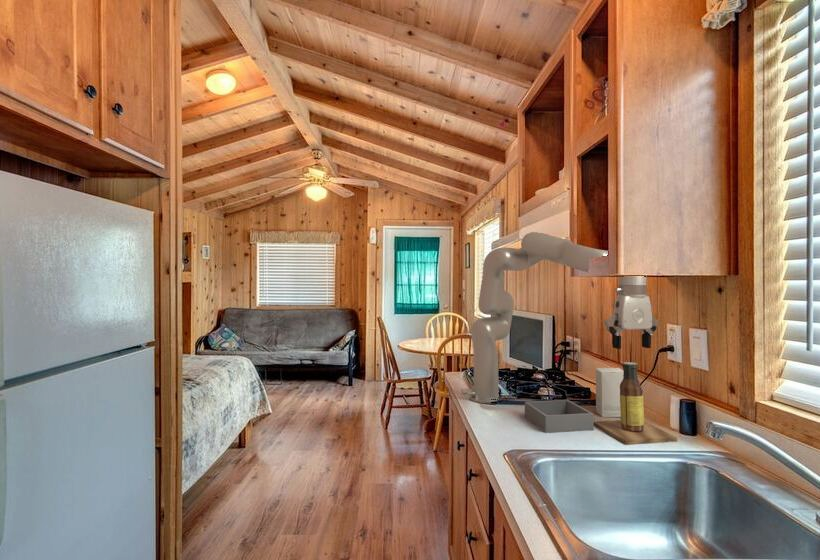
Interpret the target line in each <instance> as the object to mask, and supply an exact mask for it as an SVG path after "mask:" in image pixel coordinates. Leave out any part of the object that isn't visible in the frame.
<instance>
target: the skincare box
mask: <svg viewBox="0 0 820 560" xmlns="http://www.w3.org/2000/svg"><path fill="white" fill-rule="evenodd" d="M623 375H624V373H623V369H621V368H620V367H595V406H596V408H595V409H596V410H595V411H596V413H597V414H599V415H600V416H601V418H621V411H620V384H621V382H622V380H623V378H624V377H623Z"/></svg>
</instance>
